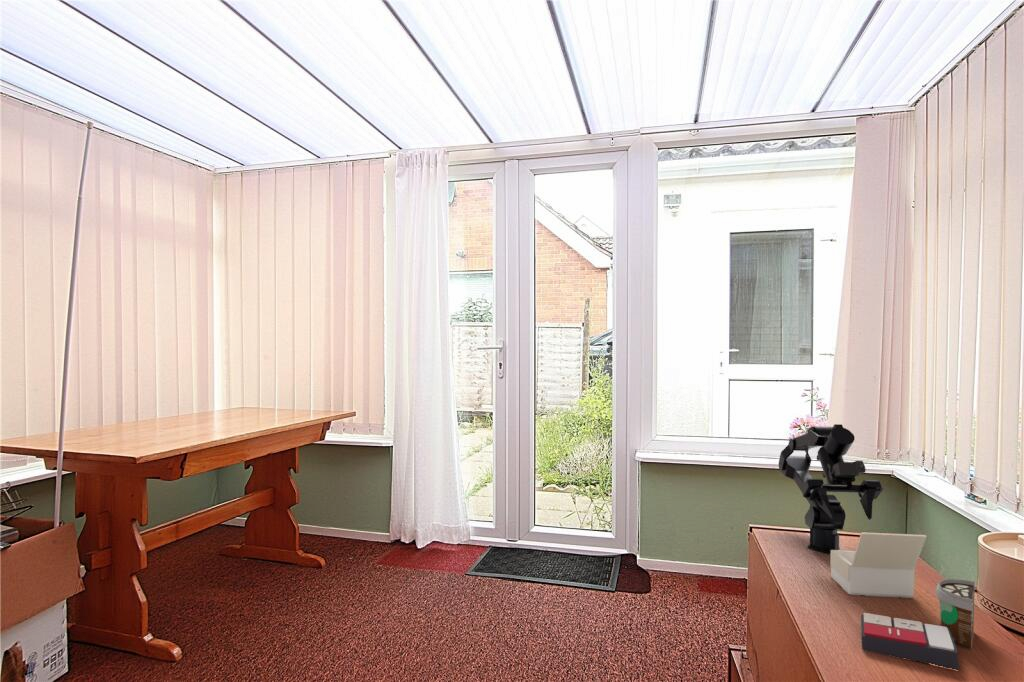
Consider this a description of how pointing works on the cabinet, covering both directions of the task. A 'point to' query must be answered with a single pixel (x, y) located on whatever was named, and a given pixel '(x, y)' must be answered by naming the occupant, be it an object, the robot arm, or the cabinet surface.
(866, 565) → the carton flap
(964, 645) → the food container
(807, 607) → the cabinet surface
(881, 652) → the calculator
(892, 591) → the carton
